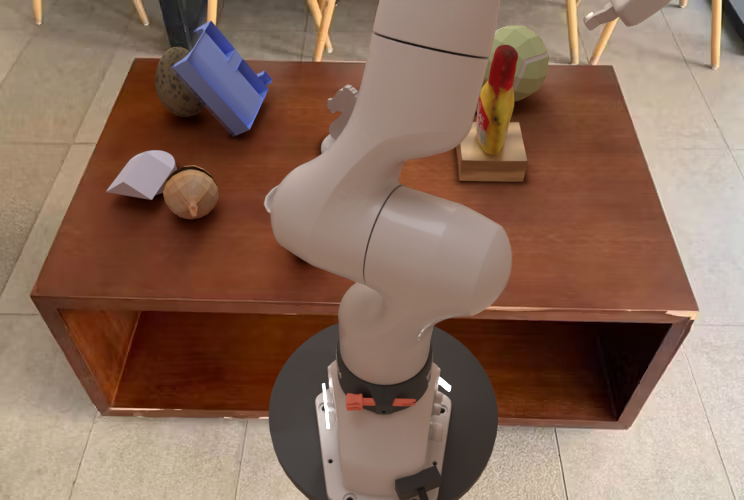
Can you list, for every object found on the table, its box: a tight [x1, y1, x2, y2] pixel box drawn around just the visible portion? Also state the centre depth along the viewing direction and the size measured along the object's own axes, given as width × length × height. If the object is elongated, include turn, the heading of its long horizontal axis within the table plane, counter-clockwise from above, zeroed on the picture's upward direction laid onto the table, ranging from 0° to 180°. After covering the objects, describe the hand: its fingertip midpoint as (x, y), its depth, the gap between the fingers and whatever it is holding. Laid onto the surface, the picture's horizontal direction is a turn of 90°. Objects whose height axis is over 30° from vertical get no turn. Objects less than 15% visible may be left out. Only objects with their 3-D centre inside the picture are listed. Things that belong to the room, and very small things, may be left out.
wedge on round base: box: [105, 149, 178, 201], centre depth 124 cm, size 9×7×13 cm
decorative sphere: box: [481, 24, 550, 103], centre depth 141 cm, size 15×15×15 cm
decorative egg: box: [154, 46, 208, 118], centre depth 137 cm, size 11×11×15 cm
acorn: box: [161, 164, 220, 220], centre depth 118 cm, size 9×9×15 cm
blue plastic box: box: [171, 20, 273, 137], centre depth 136 cm, size 18×16×7 cm
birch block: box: [455, 121, 528, 183], centre depth 130 cm, size 12×12×5 cm
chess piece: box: [320, 83, 359, 154], centre depth 129 cm, size 10×10×15 cm
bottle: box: [475, 45, 518, 155], centre depth 121 cm, size 12×6×20 cm, turn 172°
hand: (579, 10), depth 104 cm, fingers open, 8 cm apart
